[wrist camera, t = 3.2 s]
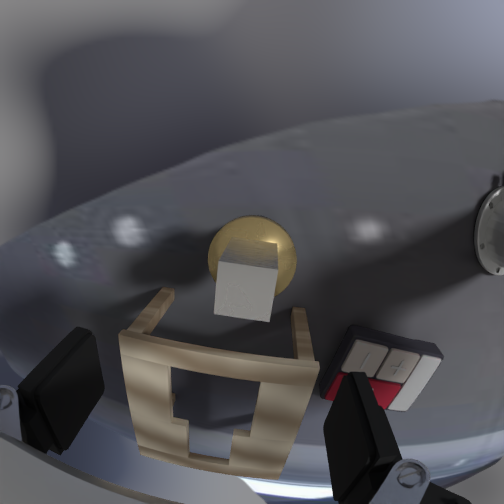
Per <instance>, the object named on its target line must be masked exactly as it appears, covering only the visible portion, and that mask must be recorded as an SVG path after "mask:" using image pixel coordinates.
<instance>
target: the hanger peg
mask: <svg viewBox="0 0 504 504" xmlns="http://www.w3.org/2000/svg"><path fill="white" fill-rule="evenodd" d="M296 263H297V260H296V251H295V247H294V244H293V241H292V239H291V237H290V236H289V234H288V233H287V232H286V230H285V229H284V228H283V227H282V226H281V225H279V224H278V223H276V222H275V221H273V220H271V219H269V218H267V217H264V216H259V215H257V216H256V215H249V216H242V217H239V218H236V219H234V220H232V221H230V222H228V223H227V224H225V225H224V226H223V227H222V228H221V229H220V230H219V232H218V233H217V234H216V235H215V237H214V239H213V240H212V242H211V245H210V248H209V253H208V265H209V270H210V273H211V275H212V277H213V279H214V281H215V282H216V293H215V305H214V314H218V315H224V316H231V317H237V318H244V319H251V320H258V321H265V322H270V316H271V310H272V304H273V298H274V297H275V296H277V295H278V294H280V293H281V292H282V291H283V290H284V289H285V288H286V287H287V286H288V285H289V283H290V282H291V280H292V278H293V276H294V273H295V270H296Z"/></svg>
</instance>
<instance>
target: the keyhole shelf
mask: <svg viewBox="0 0 504 504" xmlns="http://www.w3.org/2000/svg"><path fill="white" fill-rule="evenodd" d="M173 301H174V289H173V288H167V287H162V289H161V290H160V291H159V292H158V293H157V294H156V296H155V297H154V298H153V299H152V300H151V302H150V303H149V304H148V305H147V306H146V307H145V309H144V310H143V311H142V312H141V313H140V315H139V316H138V317H137V318H136V319H135V321H134V322H133V323H132V324H131V325H130V327H129V328H128V329H127V330H125V329H122V330H121V332H120V333H119V334H118V337H119V345H120V353H121V360H122V367H123V374H124V380H125V386H126V392H127V397H128V402H129V407H130V412H131V417H132V422H133V426H134V431H135V435H136V439H137V443H138V447H139V451H140V455H143V456H146V457H150V458H153V459H157V460H161V461H165V462H168V463H173V464H177V465H181V466H185V467H190V468H194V469H199V470H205V471H210V472H216V473H222V474H228V475H235V476H243V477H252V478H262V479H275V480H278V479H279V476H280V474H281V472H282V469H283V467H284V465H285V462H286V460H287V458H288V455H289V453H290V450H291V448H292V445H293V443H294V440H295V438H296V435H297V432H298V430H299V427H300V425H301V422H302V419H303V416H304V414H305V411H306V408H307V405H308V402H309V400H310V397H311V394H312V391H313V388H314V385H315V382H316V379H317V376H318V373H319V370H320V366H319V361H315V359H314V354H313V348H312V343H311V337H310V332H309V326H308V321H307V316H306V311H305V308H300V307H293V308H292V313H291V328H292V339H293V351H294V359H288V358H279V357H271V356H263V355H255V354H248V353H241V352H235V351H228V350H222V349H216V348H210V347H205V346H199V345H194V344H189V343H183V342H178V341H173V340H169V339H164V338H159V337H155V336H150V334H151V332H152V331H153V329H154V328H155V326H156V325H157V324H158V322H159V321H160V319H161V318H162V316H163V315H164V313H165V312H166V311H167V309H168V308H169V306H170V305H171V303H172V302H173ZM171 366H172V367H176V368H181V369H186V370H191V371H196V372H201V373H206V374H212V375H218V376H224V377H230V378H236V379H243V380H250V381H258V382H260V386H259V391H258V396H257V401H256V406H255V411H254V416H253V420H252V425H251V430H250V431H248V430H240V429H234V433H233V439H232V446H231V452H230V459H224V458H218V457H212V456H206V455H201V454H196V453H191V452H189V420H184V419H180V418H176V417H173V405H174V402H175V393H172V388H171Z"/></svg>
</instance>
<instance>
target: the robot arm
mask: <svg viewBox="0 0 504 504" xmlns="http://www.w3.org/2000/svg"><path fill="white" fill-rule="evenodd" d="M474 245H475V251H476V255H477V258H478V260H479V262H480V264H481V266H482V267H483V268H484V269H485V270H487V271H488V272H489V273H491V274H494V275H504V186H501V187H498V188H496V189H495V190H493V191H492V192H491V193H490V194H489V195H488V196H487V198H486V199H485V200H484V202H483V204H482V206H481V208H480V210H479V213H478V216H477V220H476V225H475V232H474ZM18 388H19V389H18V390H17V391H15V390H14V389H13V388H12V387H10V386H7V385H0V504H183V503H178V502H174V501H170V500H166V499H162V498H158V497H154V496H150V495H147V494H143V493H140V492H137V491H134V490H130V489H127V488H124V487H121V486H118V485H116V484H113V483H110V482H107V481H104V480H102V479H99V478H97V477H94V476H92V475H89V474H87V473H85V472H82V471H80V470H78V469H76V468H73V467H71V466H69V465H67V464H65V463H63V462H61V461H58V460H56V459H54V458H52V457H50V456H48V455H47V451H48V450H51V451H53V452H55V453H57V454H59V455H61V454H62V452H63V451H64V450H67V449H68V448H69V446H70V445H71V443H72V442H73V440H74V439H75V437H76V435H77V434H78V432H79V431H80V429H81V427H82V426H83V424H84V422H85V421H86V419H87V418H88V416H89V415H90V413H91V411H92V410H93V408H94V407H95V405H96V404H97V402H98V401H99V399H100V398H101V396H102V394H103V392H104V381H103V377H102V372H101V367H100V362H99V356H98V351H97V345H96V339H95V336H94V335H92V332H91V331H90V330H88V329H84V328H81V327H76V328H75V329H74V330H73V331H71V332H70V333H69V334H68V335H67V336H66V337H65V338H64V339H63V340H62V341H61V342H60V343H59V344H58V345H57V346H56V347H55V348H54V349H53V350H52V351H51V352H50V353H49V354H48V355H47V356H46V357H45V358H44V359H43V360H42V361H41V362H40V363H39V364H38V365H37V366H36V367H35V368H34V369H33V370H32V371H31V372H30V373H29V375H28V376H27V377H26V378H25V379H24V380H23V381H22V382H21V383H20V384H19V385H18ZM323 430H324V437H325V443H326V450H327V456H328V463H329V470H330V477H331V484H332V491H333V498H334V500H335V501H338V503H339V504H471V503H470V501H469V500H467V499H465V498H463V497H461V496H459V495H457V494H454V493H452V492H450V491H448V490H446V489H444V488H442V487H439V486H437V485H435V484H433V483H431V482H430V472H429V470H428V468H427V467H426V466H425V465H424V464H423V463H422V462H420V461H418V460H415V459H402V457H401V454H400V451H399V448H398V445H397V443H396V440H395V437H394V435H393V432H392V429H391V427H390V424H389V422H388V419H387V416H386V414H385V411H384V409H383V407H382V406H380V405H378V402H377V400H376V397H375V395H374V392H373V390H372V387H371V384H370V382H369V379H368V377H367V375H366V373H365V372H352V371H351V372H349V373H348V375H344V376H343V378H342V381H341V383H340V386H339V388H338V391H337V394H336V396H335V399H334V401H333V403H332V406H331V408H330V411H329V413H328V415H327V418H326V420H325V422H324V427H323Z"/></svg>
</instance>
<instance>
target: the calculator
mask: <svg viewBox="0 0 504 504" xmlns="http://www.w3.org/2000/svg"><path fill="white" fill-rule="evenodd" d="M443 358H444V356H443V354H442V353H441V351H440V350H439V349H438V347H437V346H436V344H434V343H430V342H425V341H421V340H412V339H408V338H404V337H400V336H396V335H392V334H388V333H385V332H380V331H376V330H372V329H368V328H364V327H360V326H356V325H351V326H350V327H349V329H348V331H347V333H346V335H345V337H344V339H343V341H342V343H341V345H340V347H339V349H338V351H337V353H336V355H335V357H334V359H333V361H332V363H331V364H330V366H329V368H328V370H327V372H326V374H325V376H324V377H323V379H322V381H321V383H320V385H319V388H320V397H321V398H322V399H326V400H331V401H334V399H335V396H336V394H337V391H338V388H339V386H340V383H341V381H342V378H343V376H344V375H348V373H349V372H351V371H352V372H365V373H366V375H367V377H368V379H369V382H370V384H371V387H372V390H373V392H374V395H375V397H376V400H377V402H378V405H380V406H382V407H383V409H385V410H393V411H401V412H406V411H408V409H409V408H410V407H411V405H412V404H413V403H414V401H415V400H416V399H417V397H418V396H419V394H420V393H421V392H422V390H423V389H424V387H425V386H426V384H427V383H428V382H429V380H430V379H431V377H432V376H433V374H434V372H435V371H436V369H437V368H438V366H439V365H440V363H441V361H442V360H443Z"/></svg>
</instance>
